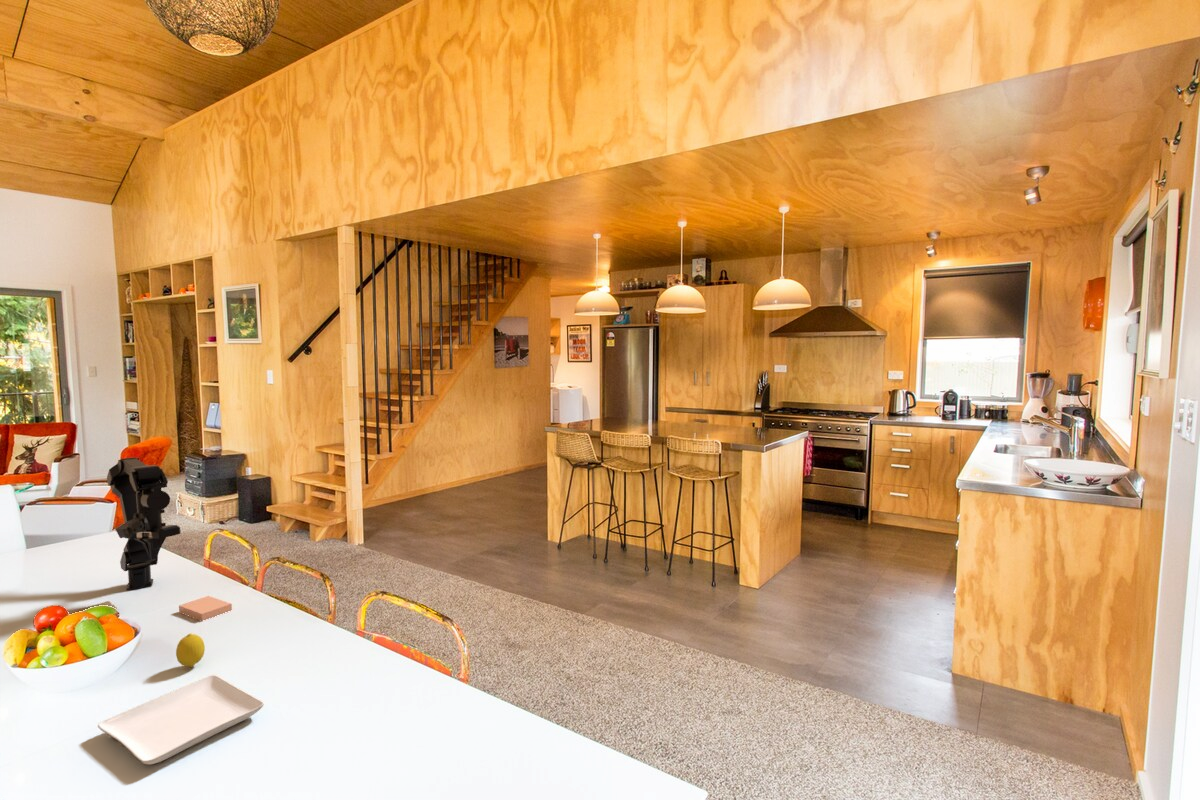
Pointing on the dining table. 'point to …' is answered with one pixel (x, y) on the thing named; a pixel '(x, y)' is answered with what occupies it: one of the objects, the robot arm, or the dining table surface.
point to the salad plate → (181, 718)
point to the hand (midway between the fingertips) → (153, 559)
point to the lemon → (190, 650)
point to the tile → (205, 608)
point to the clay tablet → (92, 606)
